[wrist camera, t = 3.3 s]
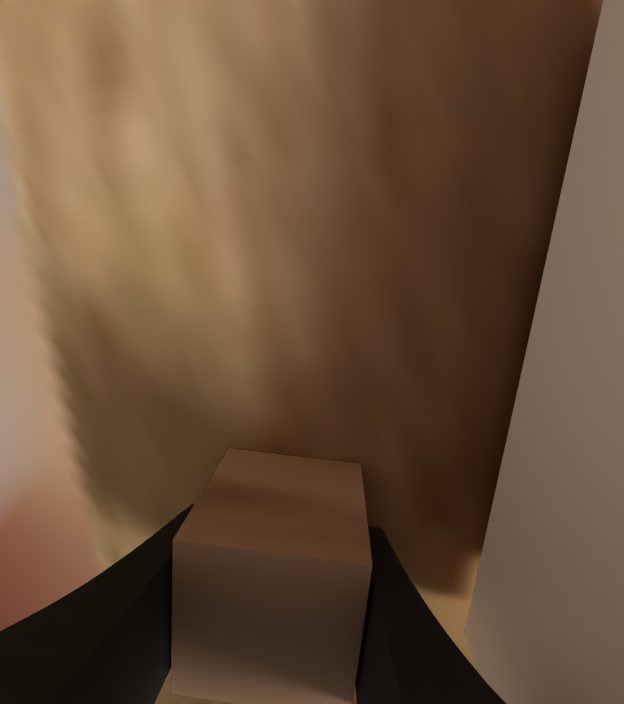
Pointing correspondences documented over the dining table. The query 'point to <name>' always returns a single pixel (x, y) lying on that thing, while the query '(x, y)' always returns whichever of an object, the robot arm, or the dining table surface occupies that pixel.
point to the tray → (567, 438)
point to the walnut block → (271, 582)
